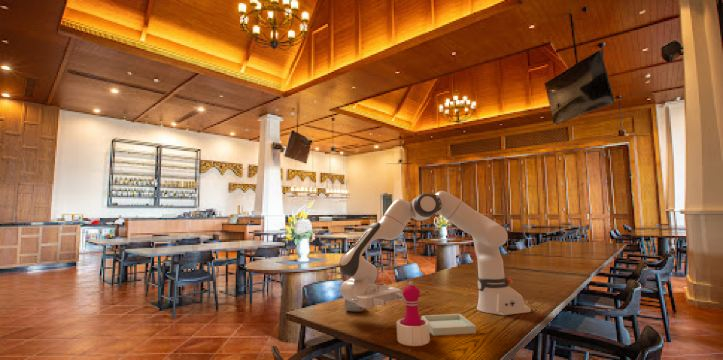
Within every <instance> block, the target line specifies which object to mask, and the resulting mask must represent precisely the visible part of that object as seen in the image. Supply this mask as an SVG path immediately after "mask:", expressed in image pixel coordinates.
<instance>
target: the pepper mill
mask: <svg viewBox="0 0 723 360" xmlns="http://www.w3.org/2000/svg"><path fill="white" fill-rule="evenodd" d="M402 295H403V296H404V305H405V309H406V310H405V315H404V317H403V318H404V320H403V325H405V326H421V325H423V323H422V321H421V318H422V317H421V316H420V314H419V309H418V308H419V304H420V302H419V298H420V295H421V292H420V289H419V288H418V287H417V286H415V285H414V282H413V281H411V280H410V281H409V282H408V285H406V286H405V287H404V288H403V290H402Z"/></svg>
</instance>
